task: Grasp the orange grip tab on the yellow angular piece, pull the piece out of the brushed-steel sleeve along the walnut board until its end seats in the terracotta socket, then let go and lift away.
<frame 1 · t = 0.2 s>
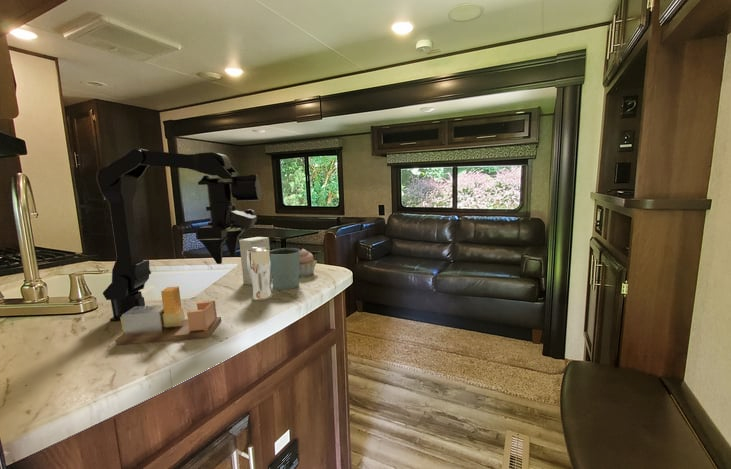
hand: (226, 259, 90), 14 cm above the table, fingers open, 9 cm apart
cupcake: (304, 275, 125), on the table
beer glass: (262, 297, 102), on the table
walnut board: (172, 332, 80), on the table
skincare box: (258, 282, 118), on the table
steel sleeve: (150, 333, 80), resting on walnut board
teal mug: (286, 286, 113), on the table
yellow angular piece: (151, 307, 79), point 6 cm above the table, slide at 0.0 cm
terracotta socket: (204, 329, 81), resting on walnut board
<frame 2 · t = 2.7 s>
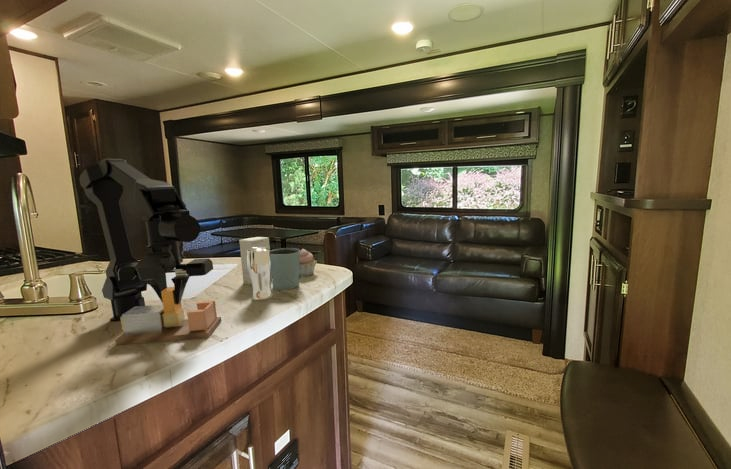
hand: (172, 304, 79), 7 cm above the table, fingers closed on yellow angular piece, 2 cm apart
yellow angular piece: (151, 307, 79), point 6 cm above the table, slide at 0.0 cm, touching gripper
everything else where it was.
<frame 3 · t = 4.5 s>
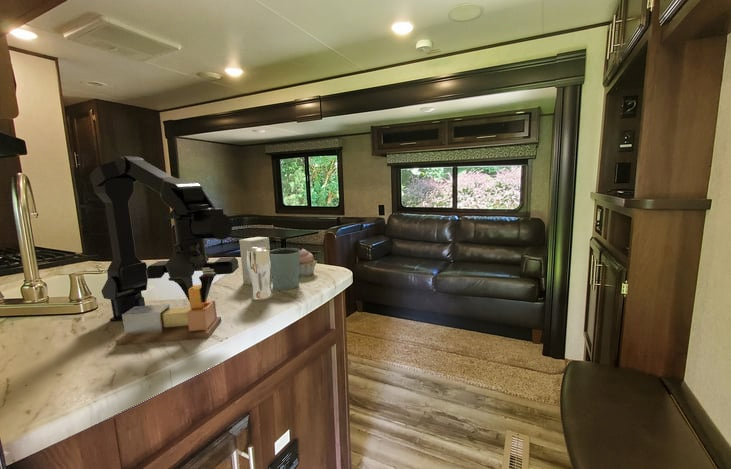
hand: (198, 302, 79), 7 cm above the table, fingers closed on yellow angular piece, 2 cm apart
yellow angular piece: (178, 306, 79), point 6 cm above the table, slide at 6.0 cm, touching gripper
everything else where it was.
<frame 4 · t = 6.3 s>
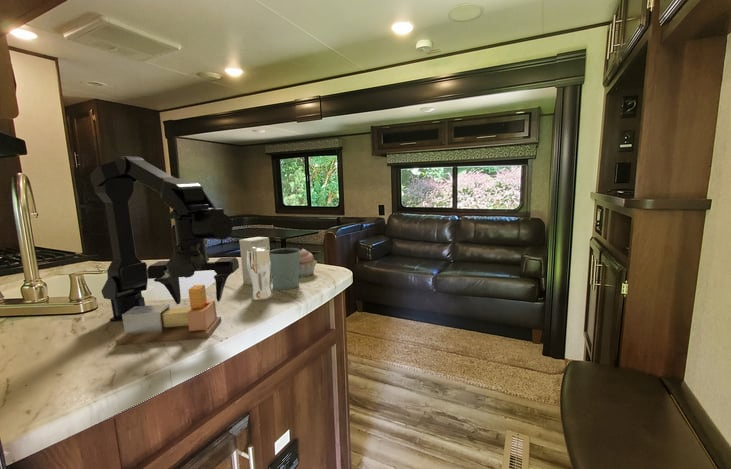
hand: (198, 302, 79), 7 cm above the table, fingers open, 9 cm apart
yellow angular piece: (178, 306, 79), point 6 cm above the table, slide at 6.0 cm
everything else where it was.
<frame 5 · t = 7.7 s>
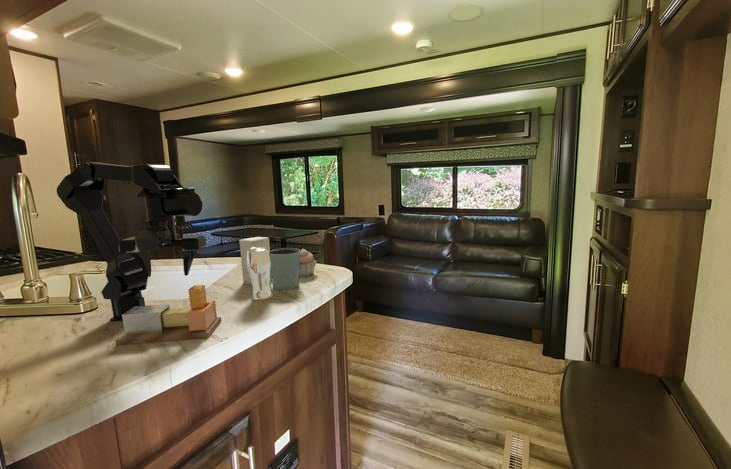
hand: (167, 276, 86), 12 cm above the table, fingers open, 9 cm apart
nothing on the table moved.
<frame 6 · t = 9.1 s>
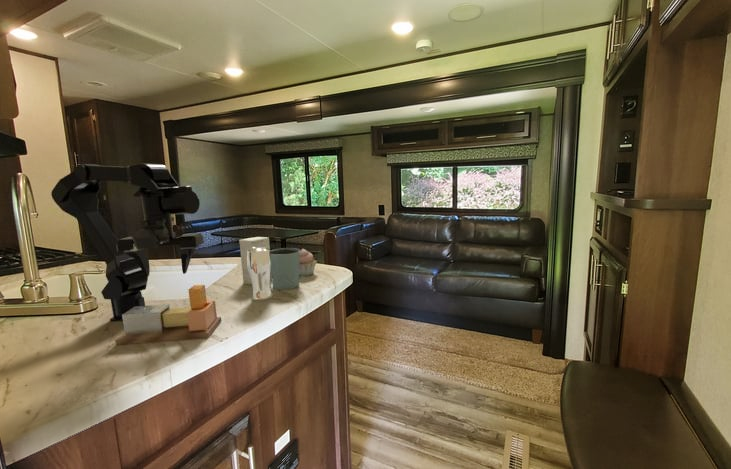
hand: (166, 274, 86), 12 cm above the table, fingers open, 9 cm apart
nothing on the table moved.
at the end: yellow angular piece slide at 6.0 cm; the gripper is holding nothing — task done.
